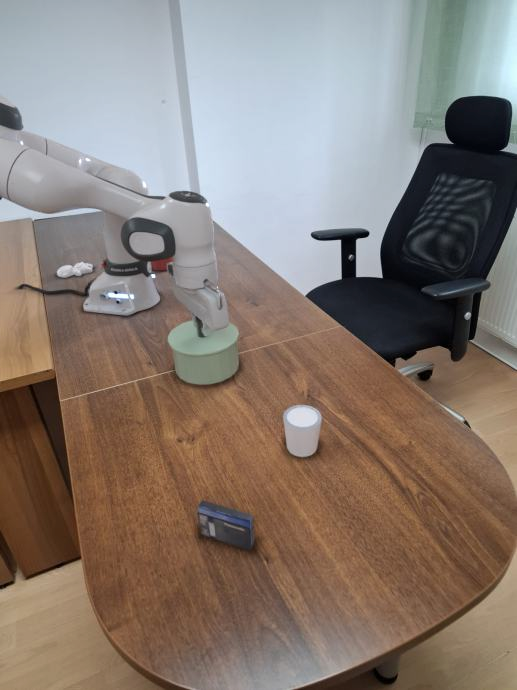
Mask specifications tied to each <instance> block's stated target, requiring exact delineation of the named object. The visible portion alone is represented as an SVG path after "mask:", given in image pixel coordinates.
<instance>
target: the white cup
mask: <svg viewBox="0 0 517 690" xmlns="http://www.w3.org/2000/svg"><path fill="white" fill-rule="evenodd" d="M282 418H283V419H282V420H283V427H284V434H285V443H286V449H287V451H288V452H289V454H291V455H293V456H295V457H299V458H306V457H309V456H312V455H313V454H315V453H316V452H317V449H318V445H319V439H320V434H321V427H322V421H323V416H322V413H321V412H320V411H319V410H318V409H317V408H316V407H314V406H311V405H306V404H296V405H293V406H290V407H288V408H286V410H285V411H284V413H283V414H282Z"/></svg>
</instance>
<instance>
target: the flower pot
mask: <svg viewBox="0 0 517 690" xmlns="http://www.w3.org/2000/svg"><path fill="white" fill-rule="evenodd" d="M170 262H173V259H172V258H168V259H164V260H159V261H151V268H152V270H154V271H158V272H159V271H160V272H163V271H167V263H170Z"/></svg>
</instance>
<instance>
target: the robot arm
mask: <svg viewBox="0 0 517 690" xmlns="http://www.w3.org/2000/svg"><path fill="white" fill-rule="evenodd" d="M23 129H24V124H23V117H22V114H21V113H20V110H19V108H18V107H17V106H15V105H14V104H13V103H12V102H11V101H9V99H7V98H6V97H4V96H3V95H1V94H0V201H1V200H2V199H4V200H6V201H9V202H11V203H13V204H15V205H17V206H20V207H22V208H24V209H26V210H30V211H32V212H36V213H41V214H44V215H45V214H46V215H54V214H59V213H65V212H69V211H73V210H80V209H92V210H93V209H94V210H99V211H102V212H103V214H104V225H103V226H104V227H103V230H102V237H103V243H104V246H105V247H104V248H105V251H106V256H105V259H103V261H102V263H101V264H100V267H101V269H104V271H103V272H101V274H100V275H98V276H97V277H95V278H93V279H91V280H90V281H88V282H87V285H86V286H85V287H84V292H80V291H78V290H75V289H71V288H68V289H67V288H66V289H65V288H63V289H58V290H45V289H42V288H39V287H37V286H33V285H31V284H27V283H21V284H20V285H19V286H18V289H19V290H20V289H23V288H28V289H30V290H33V291H37V292H39V293H41V294H46V295H55V294H56V295H57V294H64V293H73V294H76V295H78V296H82V297H86V296H87V295H88V297H87V298H86V299H85V300H84V302H83V305H82V307H83V311H84V312H88V313H99V314H106V315H115V316H116V315H118V316H131V315H133V314H135V313H137V312H140V311H141V312H142V311H144V310H148V309H150V308H152V307H154V306H156V305H157V304H158V303H160V300H161V296H160V294H159V291H158V290H157V288H156V285H155V282H154V279H155V278H156V274H154V273H153V268H152V265H151V261H159V260H164V259H168V258H172V259H173V262H170V263H167V270H166V271H167V273H168V274H169V278H170V283H171V284H170V285H171V288H172V293H173V295H174V298H175V299H176V300H177V301H178V302H179V304H182V305H183V306H184V307H185V308H186V309H187V310H188V311H189V315H190V317H191V319H192V320H193V324H194V327H195V328H196V319H195V317H196V316H197V317H198V318H199V319H200V320H202V323H203V327H201V331H202V334H203V335H204V336H206V337H207V336H210V335H211V334H212V330H213V331H217V330H221V329H224V328H226V327H228V325H229V322H230V315H229V310H228V303H227V299H226V296H225V294H224V293H223V291H222V290H220V289H219V287H218V286H217V285H215V284H216V283H218V281H219V274H218V262H217V254H216V251H215V247H214V242H215V229H214V221H213V215H212V210H211V206H210V204H209V202H208V200H207V198H206V197H204V196H203V195H202V194H199V193H198V192H195V191H189V190H176V191H171V192H170V193H169V194H168V195H167V196H164V195H150V194H149V193H150V192H149V189H148V185H147V183H146V182H145V181H144V180H143V179H142V178H141V177H140V176H139V175H138V174H137V173H136V172H134V171H133V170H130V169H127V168H125V167H121V166H118V165H115V164H112V163H109V162H106V161H104V160H101V159H99V158H96V157H94V156H91V155H89V154H87V153H84V152H82V151H79V150H77V149H75V148H72V147H70V146H68V145H64V144H62V143H59V142H57V141H54V140H52V139H48V138H46V137H44V136H41V135H38V134H35V133H33V132H29V131H26V130H23ZM152 273H153V274H152ZM211 329H212V330H211Z"/></svg>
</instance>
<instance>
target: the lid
mask: <svg viewBox="0 0 517 690" xmlns="http://www.w3.org/2000/svg"><path fill="white" fill-rule="evenodd" d="M195 319H196V328H195V327H194V324H193V320H188V321H185V322H183V323H180V324H178V325H177V326H175V327H174V328H173V329H172V330H171V331H170V332H169V334H168V335H167V344H168V345H169V347H170V348H171V350H172V349H173V350H175V351H177V352H179V353H182V354H186V355H193V356H202V355H211V354H215V353H218V352H221V351H224V350H226V349H228V348H229V347H231V346H232V345H234V343H235V342H236V341H237V342H238V339H239V334H240V333H239V329H238V327H237V326H236V325H235V324H233V323H232V322H230V321H229V325H228V327H226V328H224V329H221V330H217V331H213V330H212V329H211V330H212V334H211V335H210V336H207V337H206V336H204V335H203V334H202V331H201V327H203V323H202V320H200V319H199V318H198V317H197V316H196V317H195Z"/></svg>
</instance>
